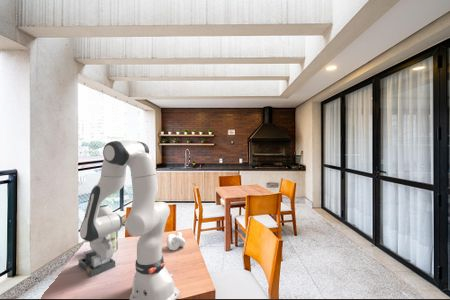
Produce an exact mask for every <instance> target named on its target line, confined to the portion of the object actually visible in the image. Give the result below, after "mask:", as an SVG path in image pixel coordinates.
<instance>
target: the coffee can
mask: <svg viewBox="0 0 450 300" xmlns="http://www.w3.org/2000/svg"><path fill="white" fill-rule="evenodd" d="M118 232H119V231H117V232H114V233H111V234H110V238H109V239H108V240H109V241H110V242H111V243H112V248H113V254H115V253H116V252H117V251H118V250H119V248H118V246H119V244H118V243H119V240H118V239H119V238H118Z"/></svg>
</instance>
